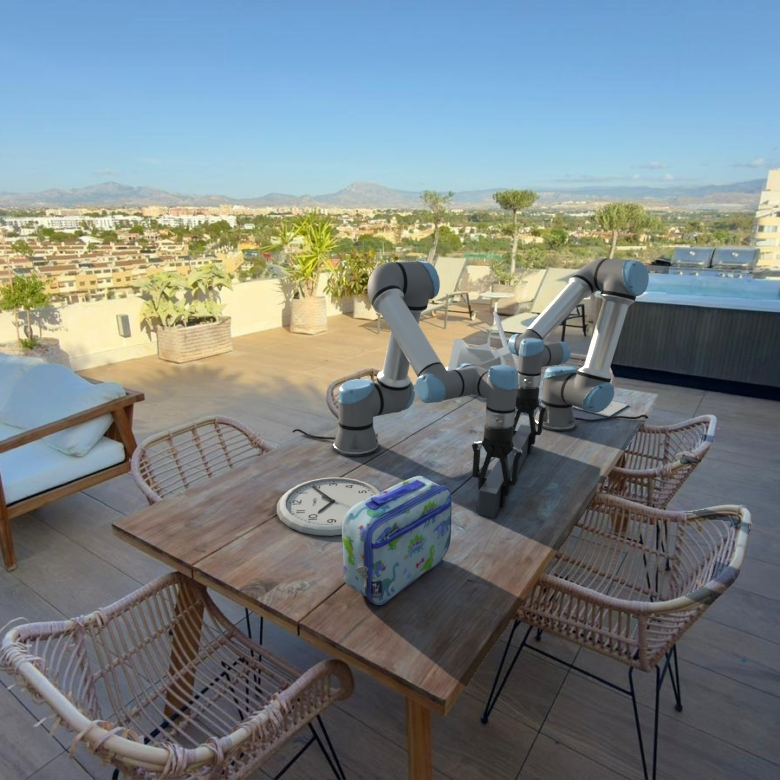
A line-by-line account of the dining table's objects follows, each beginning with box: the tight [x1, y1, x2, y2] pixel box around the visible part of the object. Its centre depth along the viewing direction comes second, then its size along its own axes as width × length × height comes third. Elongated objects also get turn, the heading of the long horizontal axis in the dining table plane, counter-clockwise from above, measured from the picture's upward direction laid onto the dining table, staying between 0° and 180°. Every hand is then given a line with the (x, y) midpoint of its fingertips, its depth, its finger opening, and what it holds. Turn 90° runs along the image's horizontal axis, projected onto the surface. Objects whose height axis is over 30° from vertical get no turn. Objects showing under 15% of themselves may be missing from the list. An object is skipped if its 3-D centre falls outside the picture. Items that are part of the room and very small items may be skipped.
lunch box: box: [341, 475, 453, 606], centre depth 111 cm, size 26×11×21 cm, turn 134°
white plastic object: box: [445, 310, 519, 371], centre depth 245 cm, size 37×45×31 cm
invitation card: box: [573, 400, 629, 417], centre depth 226 cm, size 21×1×15 cm
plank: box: [477, 424, 531, 519], centre depth 161 cm, size 54×4×7 cm, turn 155°
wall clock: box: [276, 476, 382, 537], centre depth 142 cm, size 30×2×30 cm
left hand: (492, 502), depth 145 cm, fingers closed on plank, 4 cm apart
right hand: (521, 450), depth 179 cm, fingers closed on plank, 4 cm apart
